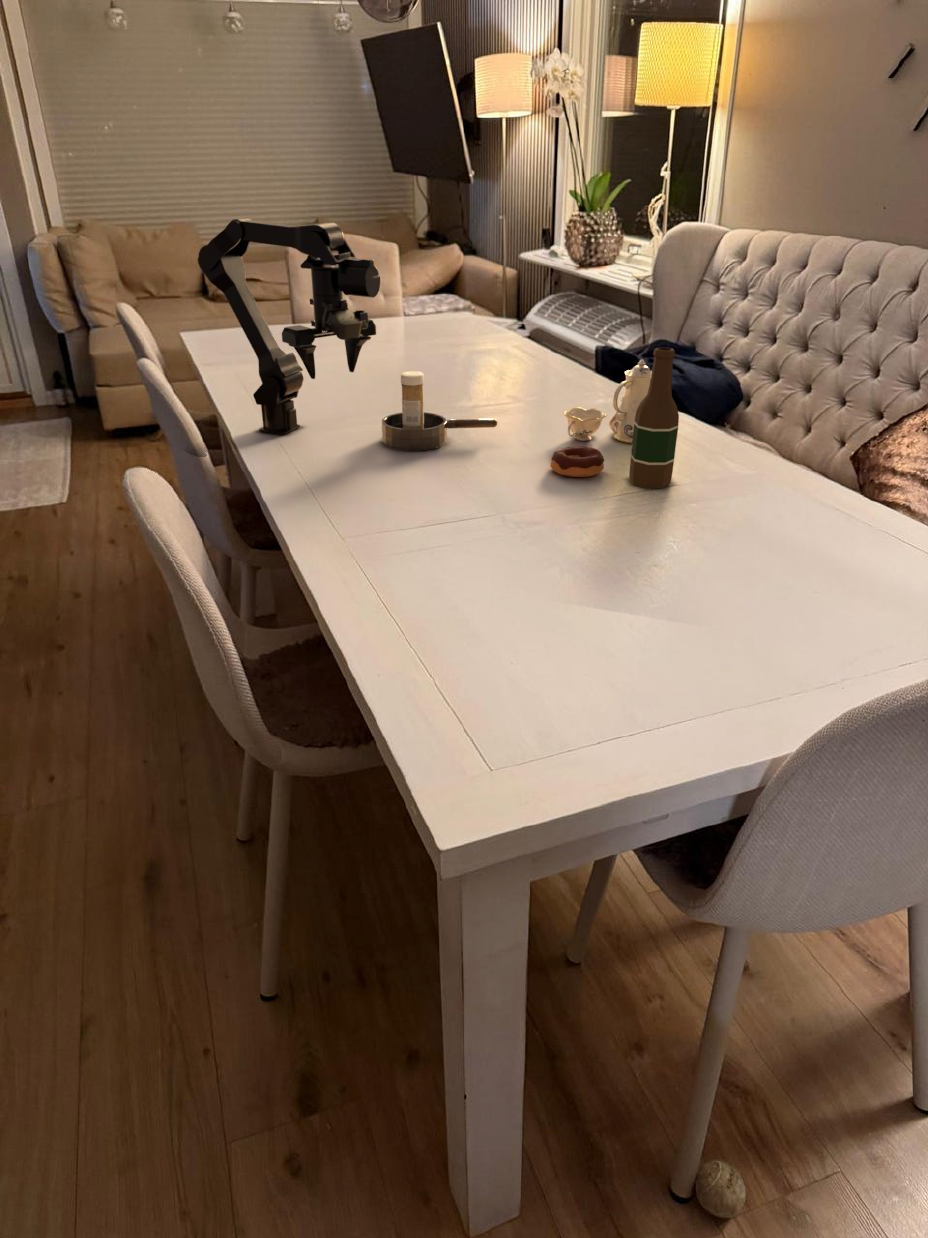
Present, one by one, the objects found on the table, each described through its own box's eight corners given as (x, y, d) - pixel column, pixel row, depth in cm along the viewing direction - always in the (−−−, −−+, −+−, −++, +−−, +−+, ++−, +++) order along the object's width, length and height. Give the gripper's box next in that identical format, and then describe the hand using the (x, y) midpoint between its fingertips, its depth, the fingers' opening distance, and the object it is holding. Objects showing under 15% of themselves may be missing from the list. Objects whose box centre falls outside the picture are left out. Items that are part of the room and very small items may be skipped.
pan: (383, 452, 179) (382, 430, 177) (381, 433, 190) (380, 412, 188) (449, 450, 180) (449, 428, 178) (443, 431, 192) (443, 410, 189)
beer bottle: (673, 477, 167) (690, 345, 156) (668, 491, 160) (685, 354, 149) (632, 472, 169) (645, 342, 158) (624, 486, 163) (638, 351, 151)
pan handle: (445, 429, 184) (445, 420, 183) (444, 427, 185) (444, 418, 184) (497, 428, 185) (498, 419, 184) (496, 425, 186) (496, 417, 186)
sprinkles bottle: (428, 437, 186) (427, 371, 180) (418, 443, 182) (417, 376, 176) (408, 434, 187) (406, 369, 181) (398, 440, 184) (396, 374, 177)
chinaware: (632, 421, 205) (633, 346, 198) (695, 429, 194) (698, 349, 187) (552, 447, 188) (550, 365, 181) (617, 457, 177) (617, 371, 170)
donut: (543, 476, 167) (544, 455, 165) (557, 460, 175) (558, 440, 173) (597, 482, 164) (598, 461, 162) (608, 466, 172) (610, 446, 170)
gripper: (308, 304, 163) (314, 390, 170) (391, 294, 173) (393, 375, 181) (277, 296, 170) (284, 379, 178) (358, 287, 181) (362, 365, 188)
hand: (332, 375), depth 181 cm, fingers open, 9 cm apart
